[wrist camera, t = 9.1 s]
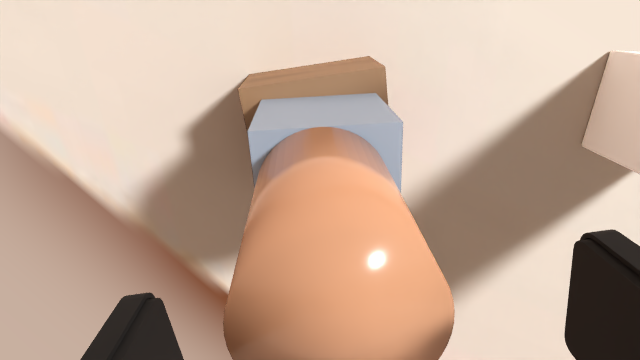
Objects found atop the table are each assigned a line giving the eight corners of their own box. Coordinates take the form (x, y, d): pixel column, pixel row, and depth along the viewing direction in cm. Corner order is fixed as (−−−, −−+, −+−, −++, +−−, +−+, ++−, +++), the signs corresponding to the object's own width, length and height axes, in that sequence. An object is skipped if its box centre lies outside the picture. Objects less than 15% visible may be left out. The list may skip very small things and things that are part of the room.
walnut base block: (378, 166, 26) (395, 199, 22) (272, 182, 26) (266, 218, 22) (368, 55, 24) (385, 66, 19) (249, 73, 24) (237, 89, 19)
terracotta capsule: (394, 236, 16) (457, 391, 10) (271, 256, 16) (252, 421, 10) (382, 115, 14) (451, 209, 8) (242, 139, 14) (194, 251, 8)
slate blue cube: (375, 196, 22) (398, 253, 16) (272, 203, 21) (263, 263, 16) (375, 93, 19) (402, 121, 14) (261, 99, 19) (247, 131, 14)
